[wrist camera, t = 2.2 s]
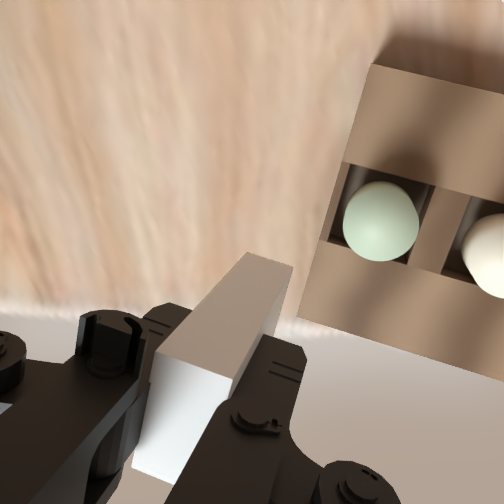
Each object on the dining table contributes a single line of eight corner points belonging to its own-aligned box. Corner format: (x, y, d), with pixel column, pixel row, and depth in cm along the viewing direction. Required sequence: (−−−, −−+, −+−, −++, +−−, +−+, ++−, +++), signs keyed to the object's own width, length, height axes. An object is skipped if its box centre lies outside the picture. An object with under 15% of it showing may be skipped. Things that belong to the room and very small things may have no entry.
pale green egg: (337, 235, 30) (333, 249, 27) (356, 173, 29) (355, 181, 26) (401, 254, 29) (404, 270, 27) (423, 191, 28) (430, 201, 25)
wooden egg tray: (302, 299, 35) (296, 316, 32) (370, 66, 29) (370, 63, 27) (593, 389, 32) (614, 416, 29) (727, 151, 27) (770, 156, 24)
